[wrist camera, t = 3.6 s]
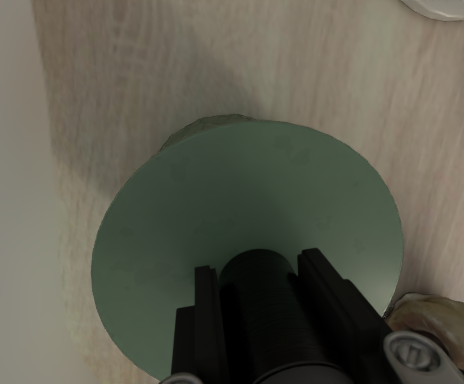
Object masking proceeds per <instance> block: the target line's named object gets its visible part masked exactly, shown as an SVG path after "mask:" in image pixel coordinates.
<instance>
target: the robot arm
mask: <svg viewBox="0 0 464 384" xmlns="http://www.w3.org/2000/svg"><path fill="white" fill-rule="evenodd" d="M401 1H402V2H404V3H405V4H406V5H407V6H408V7H410V8H411V9H412V10H413V11H415V12H417V13H420V14H422V15H424V16H426V17H428V18H432V19H437V20H442V21H461V20H464V0H401ZM297 265H298V278H299V280H300V282H301V283H302V285H303V287H304V289H305V290H306V292H307V294H308V296H309V297H310V299H311V301H312V303H313V305H314V306H315V308H316V310H317V312H318V313H319V315H320V317H321V319H322V320H323V322H324V324H325V326H326V327H327V329H328V331H329V333H330V334H331V336H332V338H333V340H334V341H335V343H336V345H337V347H338V348H339V350H340V352H341V354H342V356H343V357H344V359H345V361H346V363H347V364H348V366H349V368H350V370H351V371H352V373H353V375H354V377H355V378H356V380H357V382H358V384H464V370H462V369H459V368H457V367H456V365H455V364H454V363H453V362H452V361H451V359H450V358H449V357H448V356H447V355H446V353H445V352H444V351H443V350H442V349H441V348H440V347H439V346H438V345H437V344H436V343H435V342H433V341H432V340H430V339H428V338H427V337H425V336H422V335H420V334H418V333H414V332H410V331H396V332H394V331H393V330H392V329H391V328H390V327H389V325H388V324H387V323H386V322H385V321H384V319H383V318H382V317H381V316H380V315H379V314H378V312H377V311H376V310H375V309H374V308H373V306H372V305H371V304H370V303H369V302H368V300H367V299H366V298H365V297H364V296H363V295H362V293H361V292H360V291H359V290H358V289H357V287H356V286H355V285H354V284H353V283H352V282H351V281H350V280H349V279H343V278H342V277H341V276H340V274H339V273H338V272H337V271H336V270H335V268H334V267H333V266H332V265H331V263H330V262H329V261H328V260H327V258H326V257H325V256H324V255H323V253H322V252H321V251H320V250H319V249H318V248H310V249H304V250H302V252H301V254H298V255H297ZM159 384H231V381H230V373H229V366H228V358H227V350H226V342H225V334H224V326H223V318H222V310H221V302H220V294H219V287H218V280H217V273H216V268H213V269H210V266H209V265H206V266H200V267H195V305H193V306H187V307H182V308H177V310H176V319H175V330H174V342H173V354H172V365H171V376H168V377H166V378H165V379H164V380H162V381H161V382H160V383H159Z"/></svg>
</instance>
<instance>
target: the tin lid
mask: <svg viewBox="0 0 464 384" xmlns="http://www.w3.org/2000/svg"><path fill="white" fill-rule="evenodd" d="M310 248H318V249H319V250H320V251H321V252H322V253H323V255H324V256H325V257H326V258H327V260H328V261H329V262H330V263H331V265H332V266H333V267H334V268H335V270H336V271H337V272H338V273H339V274H340V276H341V277H342V278H343V279H349V280H350V281H351V282H352V283H353V284H354V285H355V286H356V287H357V289H358V290H359V291H360V292H361V293H362V295H363V296H364V297H365V298H366V299H367V300H368V302H369V303H370V304H371V305H372V306H373V308H374V309H375V310H376V311H377V312H378V314H379V315H380V316H381V317H382V316H383V314H384V312H385V311H386V309H387V307H388V306H389V303H390V301H391V299H392V297H393V294H394V292H395V290H396V286H397V283H398V280H399V276H400V272H401V266H402V260H403V233H402V225H401V220H400V217H399V213H398V210H397V206H396V204H395V202H394V199H393V197H392V195H391V193H390V191H389V189H388V187H387V185H386V184H385V182H384V181H383V179H382V178H381V177H380V175H379V174H378V172H377V171H376V170H375V169H374V168H373V167H372V166H371V165H370V164H369V163H368V161H367V160H366V159H365V158H364V157H362V156H361V155H360V154H358V153H357V152H356V151H355V150H353V149H352V148H351V147H350V146H348V145H346V144H344V143H343V142H341V141H339V140H337V139H336V138H334V137H332V136H330V135H328V134H325V133H322V132H320V131H317V130H314V129H312V128H309V127H305V126H301V125H296V124H292V123H287V122H281V121H269V120H251V121H237V122H232V123H227V124H222V125H216V126H213V127H210V128H207V129H204V130H201V131H198V132H195V133H192V134H190V135H188V136H186V137H184V138H182V139H180V140H178V141H176V142H174V143H172V144H170V145H169V146H168V147H166V148H165V149H163V150H162V151H160V152H159V153H157V154H156V155H154V156H153V157H151V158H150V159H149V160H148V161H147V162H146V163H145V164H144V165H143V166H141V167H140V168H139V169H138V170H137V171H136V172H135V173H134V174H133V175H132V177H131V178H130V179H129V180H128V181H127V183H126V184H125V185H124V186H123V187H122V188H121V190H120V191H119V192H118V194H117V195H116V197H115V198H114V200H113V202H112V203H111V205H110V207H109V208H108V210H107V211H106V213H105V216H104V218H103V221H102V223H101V225H100V228H99V230H98V233H97V237H96V241H95V245H94V248H93V254H92V265H91V279H92V291H93V296H94V300H95V304H96V308H97V311H98V313H99V316H100V318H101V321H102V323H103V326H104V327H105V329H106V331H107V332H108V334H109V336H110V337H111V339H112V341H113V342H114V343H115V344H116V345H117V347H118V348H119V349H120V350H121V352H122V353H123V354H124V355H125V356H126V357H127V358H128V359H130V360H131V361H132V362H133V363H134V364H135V365H136V366H137V367H139V368H140V369H142V370H143V371H145V372H146V373H148V374H149V375H150V376H152V377H154V378H156V379H158V380H160V381H162V380H164V379H165V378H166V377H168V376H171V365H172V354H173V342H174V330H175V319H176V310H177V308H182V307H187V306H193V305H195V267H200V266H206V265H209V266H210V269H213V268H216V273H217V280H218V287H219V294H220V302H221V310H222V318H223V326H224V334H225V342H226V350H227V358H228V366H229V373H230V381H231V384H358V382H357V380H356V378H355V377H354V375H353V373H352V371H351V370H350V368H349V366H348V364H347V363H346V361H345V359H344V357H343V356H342V354H341V352H340V350H339V348H338V347H337V345H336V343H335V341H334V340H333V338H332V336H331V334H330V333H329V331H328V329H327V327H326V326H325V324H324V322H323V320H322V319H321V317H320V315H319V313H318V312H317V310H316V308H315V306H314V305H313V303H312V301H311V299H310V297H309V296H308V294H307V292H306V290H305V289H304V287H303V285H302V283H301V282H300V280H299V278H298V265H297V255H298V254H301V252H302V250H304V249H310Z"/></svg>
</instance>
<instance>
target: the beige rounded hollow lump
mask: <svg viewBox="0 0 464 384" xmlns="http://www.w3.org/2000/svg"><path fill="white" fill-rule="evenodd" d="M384 321H385V322H386V323H387V324H388V325H389V327H390V328H391V329H392V330H393V331H394V332H396V331H410V332H414V333H418V334H420V335H422V336H425V337H427V338H428V339H430V340H432V341H433V342H435V343H436V344H437V345H438V346H439V347H440V348H441V349H442V350H443V351H444V352H445V353H446V355H447V356H448V357H449V358H450V359H451V361H452V362H453V363H454V364H455V365H456V367H457V368H459V369H462V370H464V303H463V302H458V301H453V300H451V299H448V298H446V297H442V296H439V295H428V296H426V295H420V294H416V293H414V294H406V295H405V296H404V297H403V298H402V299H400V300H398V301H397V302H396V303H395V307H394V309H393V311H392V312H391V314H390V315H389V316H388V317H387V318H386V319H385V320H384Z"/></svg>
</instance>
